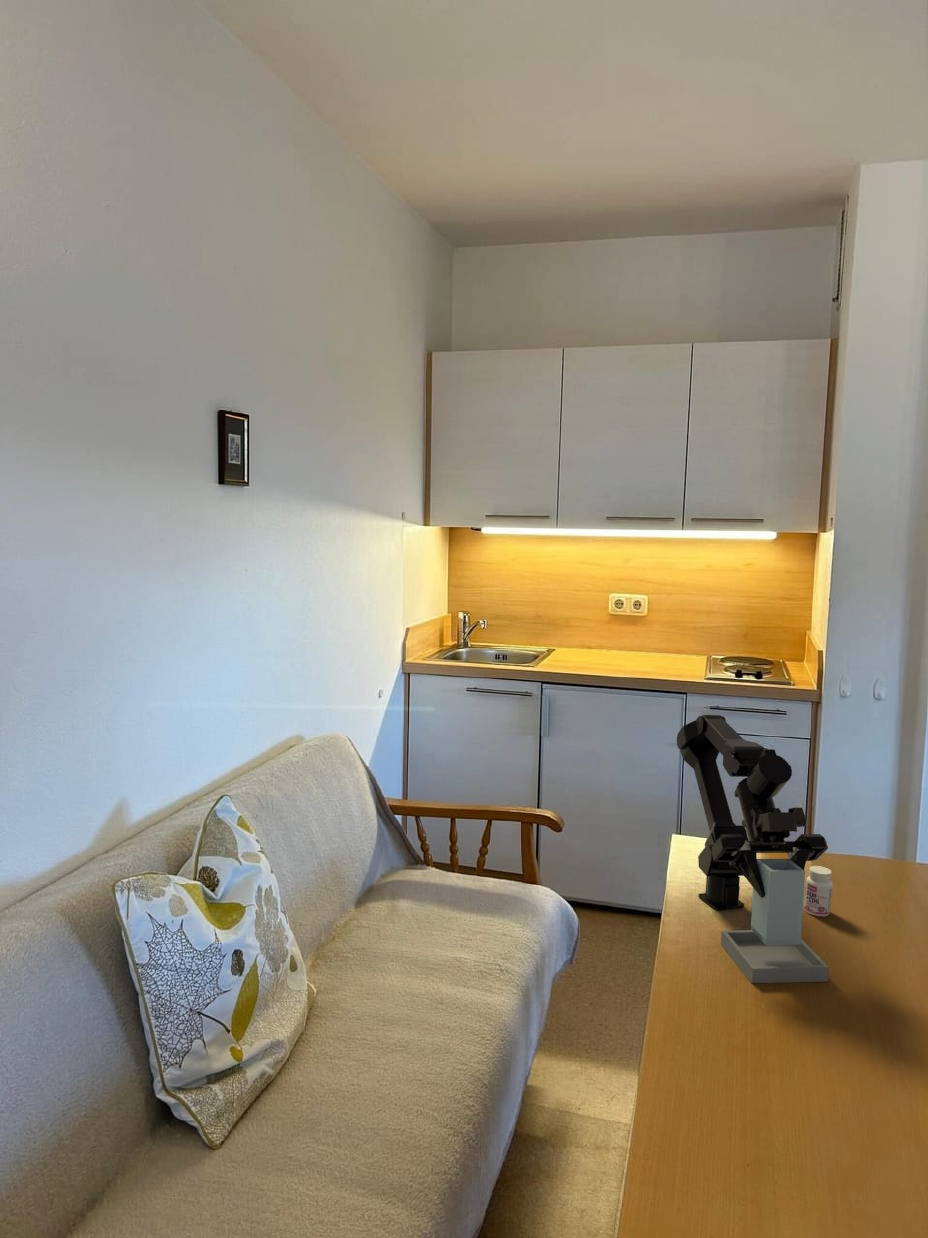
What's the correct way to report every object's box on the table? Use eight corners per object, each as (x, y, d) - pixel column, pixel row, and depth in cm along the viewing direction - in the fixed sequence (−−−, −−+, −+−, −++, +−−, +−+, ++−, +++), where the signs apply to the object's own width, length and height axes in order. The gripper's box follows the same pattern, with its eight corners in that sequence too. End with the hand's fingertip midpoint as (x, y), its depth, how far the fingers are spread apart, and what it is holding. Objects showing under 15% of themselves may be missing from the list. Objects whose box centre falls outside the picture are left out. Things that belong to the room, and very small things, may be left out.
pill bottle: (801, 913, 172) (805, 871, 171) (805, 904, 177) (808, 863, 176) (828, 919, 170) (832, 877, 169) (831, 910, 174) (835, 868, 173)
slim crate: (750, 929, 155) (754, 858, 154) (784, 929, 156) (788, 858, 155) (765, 945, 149) (770, 871, 148) (800, 944, 150) (805, 871, 149)
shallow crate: (720, 944, 159) (721, 930, 159) (790, 943, 160) (792, 929, 160) (751, 983, 146) (752, 968, 146) (827, 981, 148) (829, 967, 147)
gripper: (722, 789, 152) (744, 879, 143) (827, 789, 154) (856, 878, 145) (702, 817, 161) (721, 903, 152) (802, 817, 163) (827, 902, 154)
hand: (781, 896), depth 150 cm, fingers closed on slim crate, 6 cm apart
